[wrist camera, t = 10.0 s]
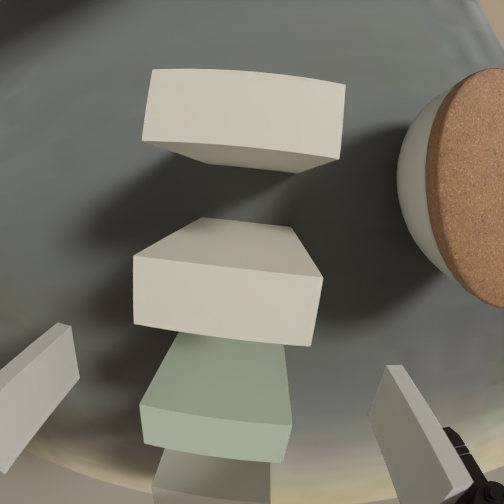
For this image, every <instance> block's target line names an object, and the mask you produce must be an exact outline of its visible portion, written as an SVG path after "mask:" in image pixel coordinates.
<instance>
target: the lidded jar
mask: <svg viewBox="0 0 504 504" xmlns="http://www.w3.org/2000/svg"><path fill="white" fill-rule="evenodd" d="M397 191H398V199H399V203H400V207H401V211H402V215H403V217H404V220H405V222H406V225H407V227H408V230H409V232H410V234H411V235H412V237H413V239H414V241H415V243H416V244H417V245H418V246H419V248H420V249H421V250H422V252H423V253H424V254H425V255H426V257H427V258H428V259H429V260H430V261H431V262H432V263H433V264H434V265H435V266H436V267H437V268H438V269H439V270H441V271H442V272H443V273H444V274H445V275H446V276H448V277H449V278H451V279H452V280H454V281H455V282H457V283H458V284H460V285H461V286H462V287H463V288H464V289H465V290H466V291H468V292H469V293H470V294H472V295H474V296H475V297H477V298H478V299H480V300H481V301H483V302H484V303H486V304H489V305H492V306H494V307H497V308H504V69H502V68H489V69H484V70H481V71H479V72H476V73H473V74H471V75H469V76H467V77H466V78H465V79H463V80H462V81H460V82H459V83H457V84H456V85H454V86H453V87H451V88H449V89H447V90H446V91H444V92H443V93H441V94H440V95H438V96H437V97H435V98H434V99H433V100H432V101H431V102H429V103H428V104H427V105H426V106H425V108H424V109H423V110H422V111H421V112H420V113H419V114H418V115H417V117H416V118H415V119H414V121H413V123H412V124H411V126H410V127H409V129H408V131H407V133H406V136H405V138H404V140H403V143H402V147H401V151H400V154H399V158H398V166H397Z"/></svg>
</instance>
